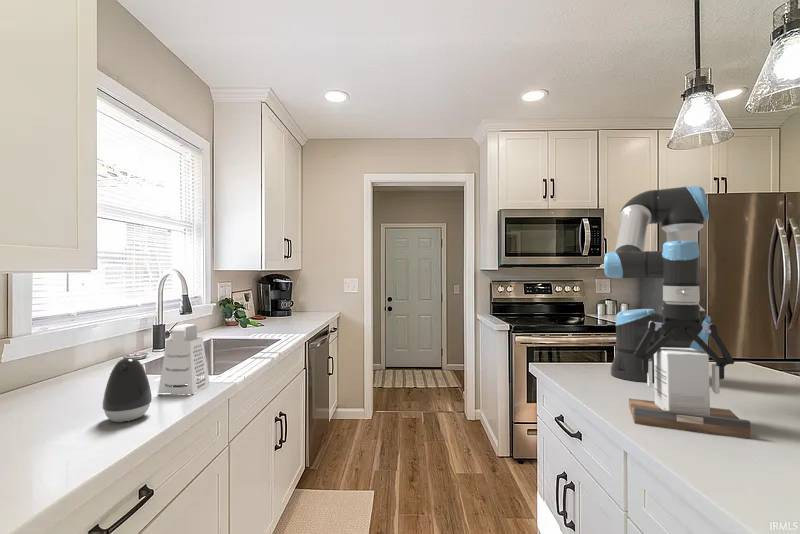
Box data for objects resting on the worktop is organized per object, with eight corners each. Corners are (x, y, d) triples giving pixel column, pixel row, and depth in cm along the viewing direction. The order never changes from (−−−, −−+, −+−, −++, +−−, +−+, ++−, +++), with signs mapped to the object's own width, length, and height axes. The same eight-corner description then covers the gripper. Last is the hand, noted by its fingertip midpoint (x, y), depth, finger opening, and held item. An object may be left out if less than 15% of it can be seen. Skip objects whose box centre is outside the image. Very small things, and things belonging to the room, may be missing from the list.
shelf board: (628, 405, 111) (628, 392, 111) (729, 417, 101) (729, 403, 102) (634, 423, 98) (634, 408, 98) (751, 439, 88) (750, 422, 89)
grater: (209, 385, 132) (210, 323, 132) (192, 395, 121) (192, 327, 121) (177, 385, 132) (177, 323, 132) (157, 395, 121) (158, 327, 122)
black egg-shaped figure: (96, 429, 95) (96, 363, 95) (109, 414, 105) (109, 355, 105) (146, 423, 99) (147, 360, 99) (154, 409, 108) (155, 352, 109)
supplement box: (692, 406, 104) (692, 347, 104) (711, 418, 95) (710, 354, 96) (653, 403, 106) (652, 346, 106) (667, 415, 97) (667, 352, 98)
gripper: (625, 302, 103) (625, 387, 102) (750, 306, 92) (751, 399, 92) (622, 300, 110) (623, 379, 109) (738, 303, 99) (739, 390, 99)
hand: (681, 389), depth 101 cm, fingers open, 13 cm apart
